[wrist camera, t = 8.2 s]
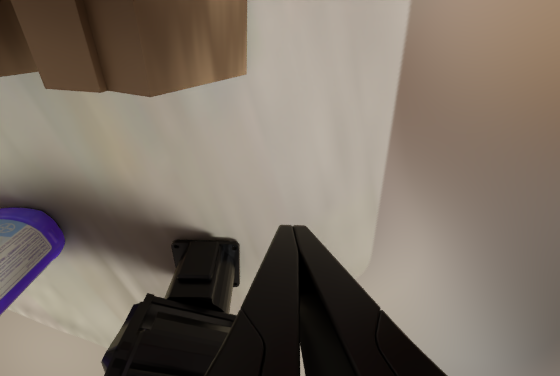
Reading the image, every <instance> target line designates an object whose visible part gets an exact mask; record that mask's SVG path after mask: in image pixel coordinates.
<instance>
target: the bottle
mask: <svg viewBox="0 0 560 376" xmlns="http://www.w3.org/2000/svg"><path fill="white" fill-rule="evenodd" d="M64 244H65V238H64V235H63V232H62V231H61V229H60V228H59V227H58V225H57V223H56V222H55V221H54V220H53V219H52V218H51V217H50V216H48V215H47V214H45V213H44V212H43V211H39V210H35V209H29V208H1V209H0V315H1V314H2V313H3V312H4V311H5V310H6V309H7V308H8V307H9V306H10V305H11V304H12V303H13V302H14V301H15V300H16V298H17V297H18V296H19V295H20V294H21V293H22V292H23V291H24V290H25V289H26V288H27V287H28V286H29V285H30V284H31V283H32V282H33V281H34V280H35V279H36V278H37V277H38V276H39V275H40V274H41V273H42V272H43V271H44V269H45V268H46V267H47V266H48V265H49V264H50V263H51V262H52V261H53V260H54V259H55V258H56V257H57V256H58V255H59V254H60V252H61V251H62V249H63V247H64Z"/></svg>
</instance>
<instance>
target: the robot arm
mask: <svg viewBox="0 0 560 376" xmlns="http://www.w3.org/2000/svg"><path fill="white" fill-rule="evenodd" d="M178 245H179V246H178ZM233 246H235V247H233ZM171 247H172V252H173V257H174V261H175V266H176V271H175V273H174V276H173V278H172V281H171V283H170V286H169V288H168V291H167V293H166V296H165V298H160V297H156V296H154V295H153V294H149V293H147V295H146V297H145V299H144V301H143V302H140V303H138V304H134V305H133V307H132V309H131V311H130V313H129V315H128V317H127V319H126V321H125V322H124V324H123V326H122V328H121V329H120V331H119V333H118V334H117V336H116V337H115V339H114V340H113V342H112V344H111V345H110V347H109V348H108V350H107V351H106V353H105V355H104V357H103V359H102V362H101V363H102V366H103V368H104V371H105V375H104V376H300V346H301V352H302V358H303V364H304V369H305V375H306V376H447V375H446V374H445V373H444V372H443V371H442V370H441V369H440V368H439V367H438V366H437V365H436V364H435V363H434V362H433V361H431V359H429V358H428V357H427V356H426V355H425V354H424V353H423V352H422V351H421V350H420V349H419V348H418V347H417V346H416V345H415V344H414V343H413V342H412V341H411V340H410V339H409V338H408V337H407V336H406V335H405V333H403V331H402V330H401V329H400V328H399V327H398V326H397V325H396V324H395V323H394V322H393V321H392V320H391V319H390V318H389V316H388V315H387V314H386V313H385V312H384V311H383V310H380V307H379V306H378V304H376V303H375V301H374V300H373V299H372V298H371V297H370V296H369V295H368V294H367V292H366V291H365V290H364V289H363V288H362V287H361V286H360V285H359V284H358V283H357V282H356V280H355V279H354V278H353V277H352V276H351V275H350V274H349V273H348V272H347V270H346V269H345V268H344V267H343V266H342V265H341V264H340V263H339V262H338V261H337V259H336V258H335V257H334V256H333V255H332V254H331V253H330V252H329V251H328V250H327V249H326V247H325V246H324V245H323V244H322V243H321V242H320V241H319V240H318V239H317V238H316V236H315V235H314V234H313V233H312V232H311V231H310V230H309V229H308V228H307V227H306V226H304V225H294V226H293V227H292V226H291V225H280V226H279V227H278V230H277V232H276V234H275V236H274V238H273V240H272V242H271V244H270V247H269V249H268V251H267V253H266V255H265V257H264V259H263V261H262V264H261V266H260V268H259V270H258V272H257V274H256V276H255V278H254V281H253V283H252V285H251V287H250V289H249V291H248V293H247V295H246V298H245V300H244V302H243V304H242V306H241V310H240V311H239V312H238V314H237V315H233V314H229V310H230V303H231V296H232V289H233V287H238V286H239V284H240V245H239V243H238V242H233V241H198V240H175V241H173V243H172V245H171Z"/></svg>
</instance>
